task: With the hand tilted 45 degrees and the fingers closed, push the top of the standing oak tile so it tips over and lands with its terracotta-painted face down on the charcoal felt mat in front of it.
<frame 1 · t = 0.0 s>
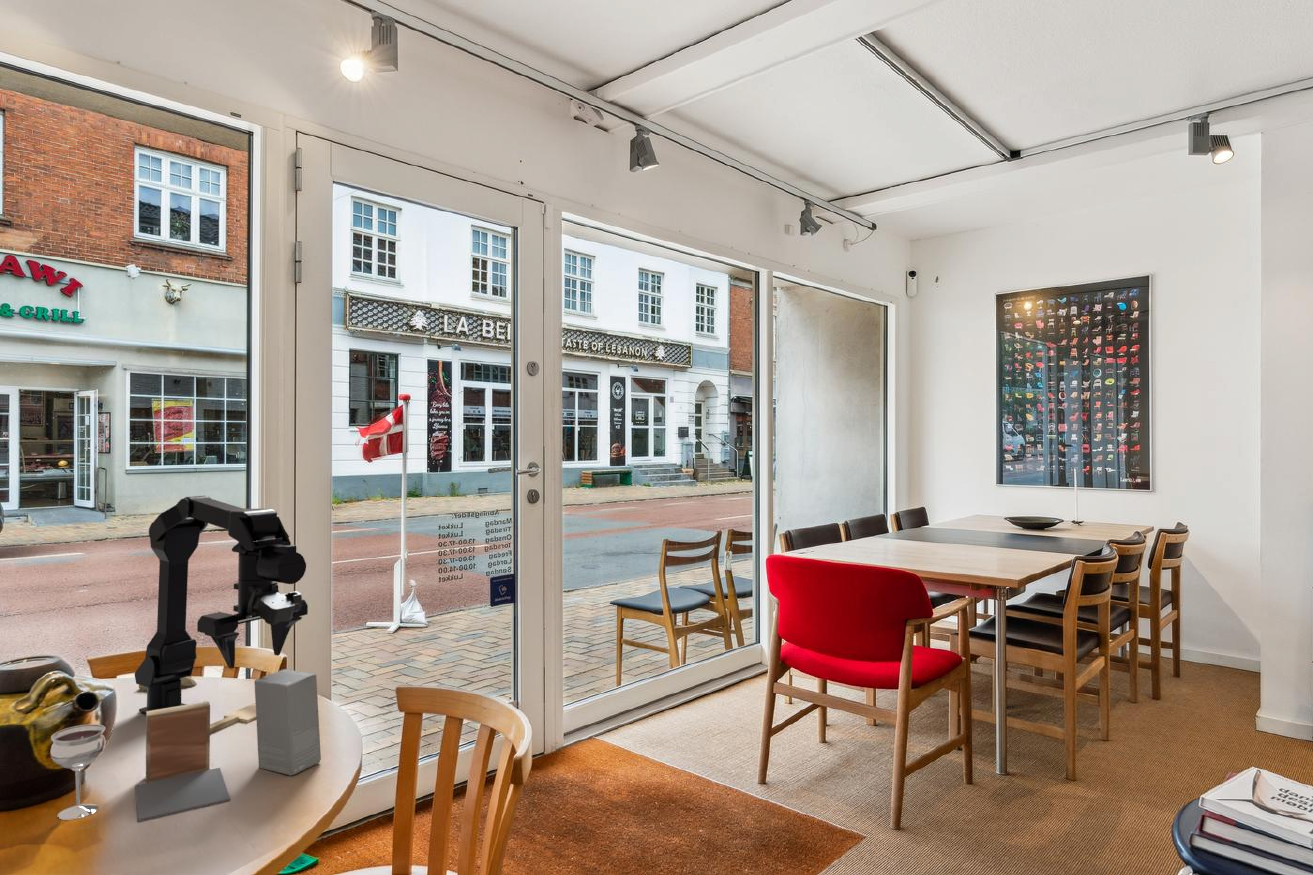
hand: (254, 661, 146), 15 cm above the table, fingers open, 9 cm apart
wooden spatula: (235, 720, 155), on the table
wineglass: (78, 812, 119), on the table
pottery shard: (170, 685, 175), on the table
felt mat: (181, 793, 125), on the table
oak tile: (177, 773, 132), on the table
skincare box: (287, 767, 136), on the table
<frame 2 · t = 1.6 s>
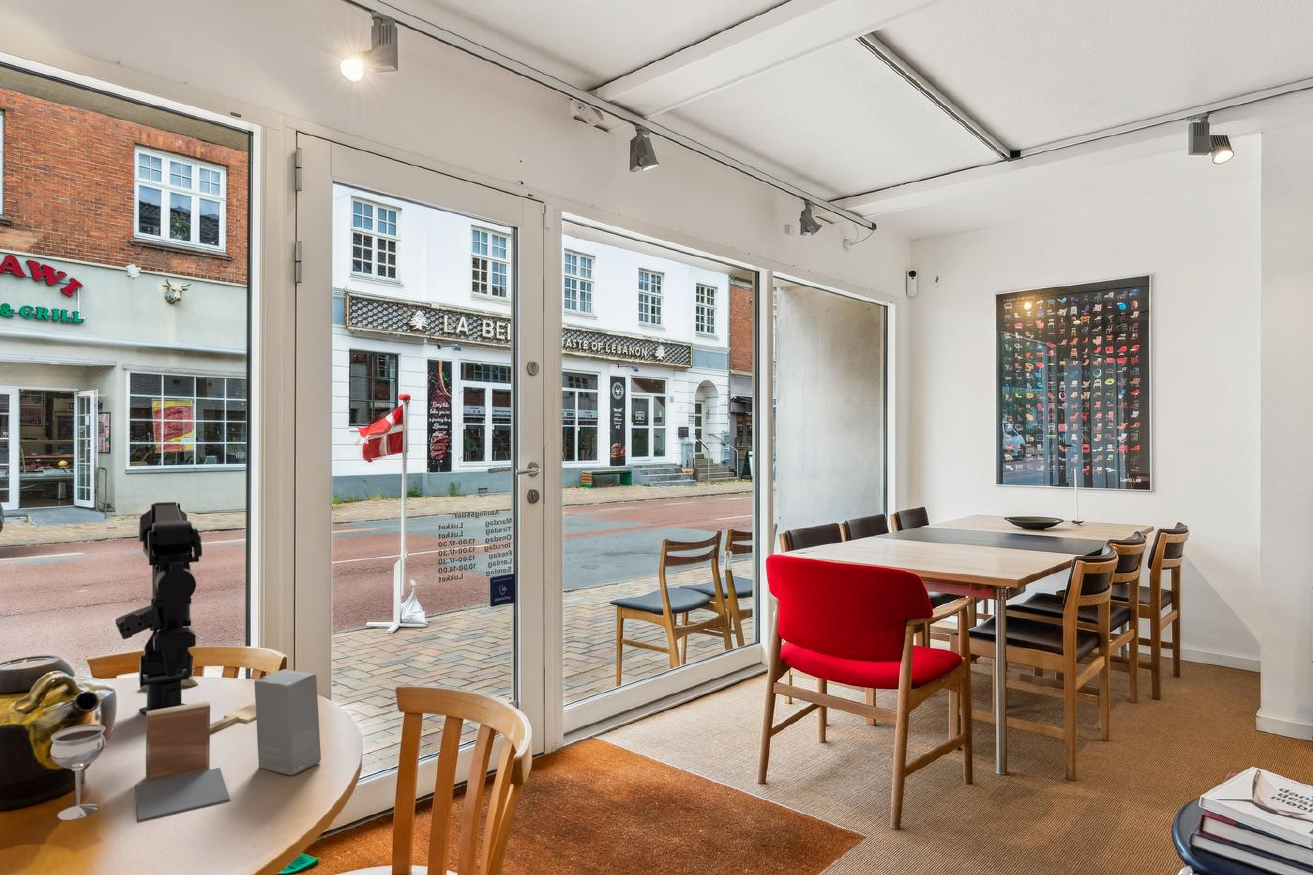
hand: (171, 676, 144), 12 cm above the table, fingers closed
nothing on the table moved.
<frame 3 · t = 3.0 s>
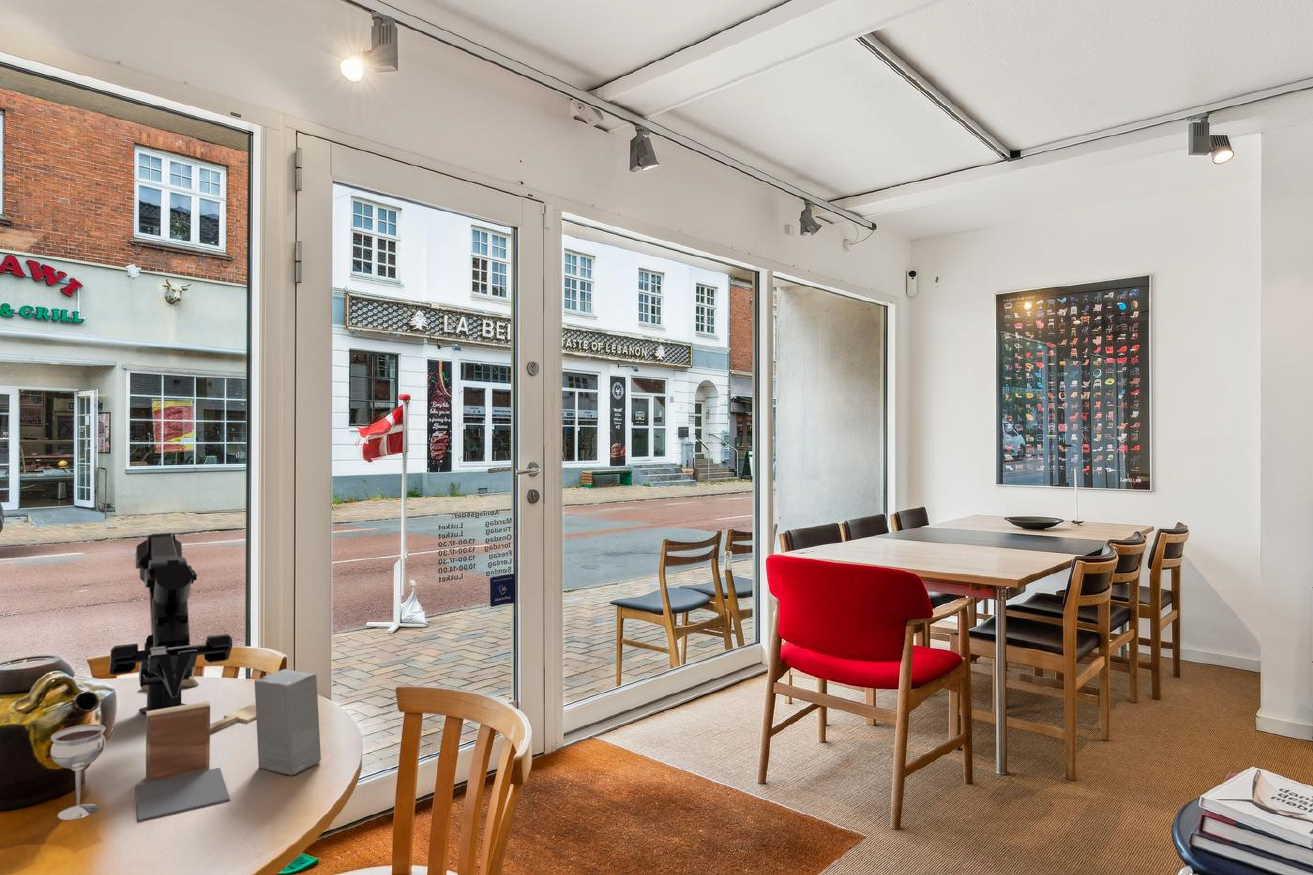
hand: (174, 696, 139), 10 cm above the table, fingers closed
nothing on the table moved.
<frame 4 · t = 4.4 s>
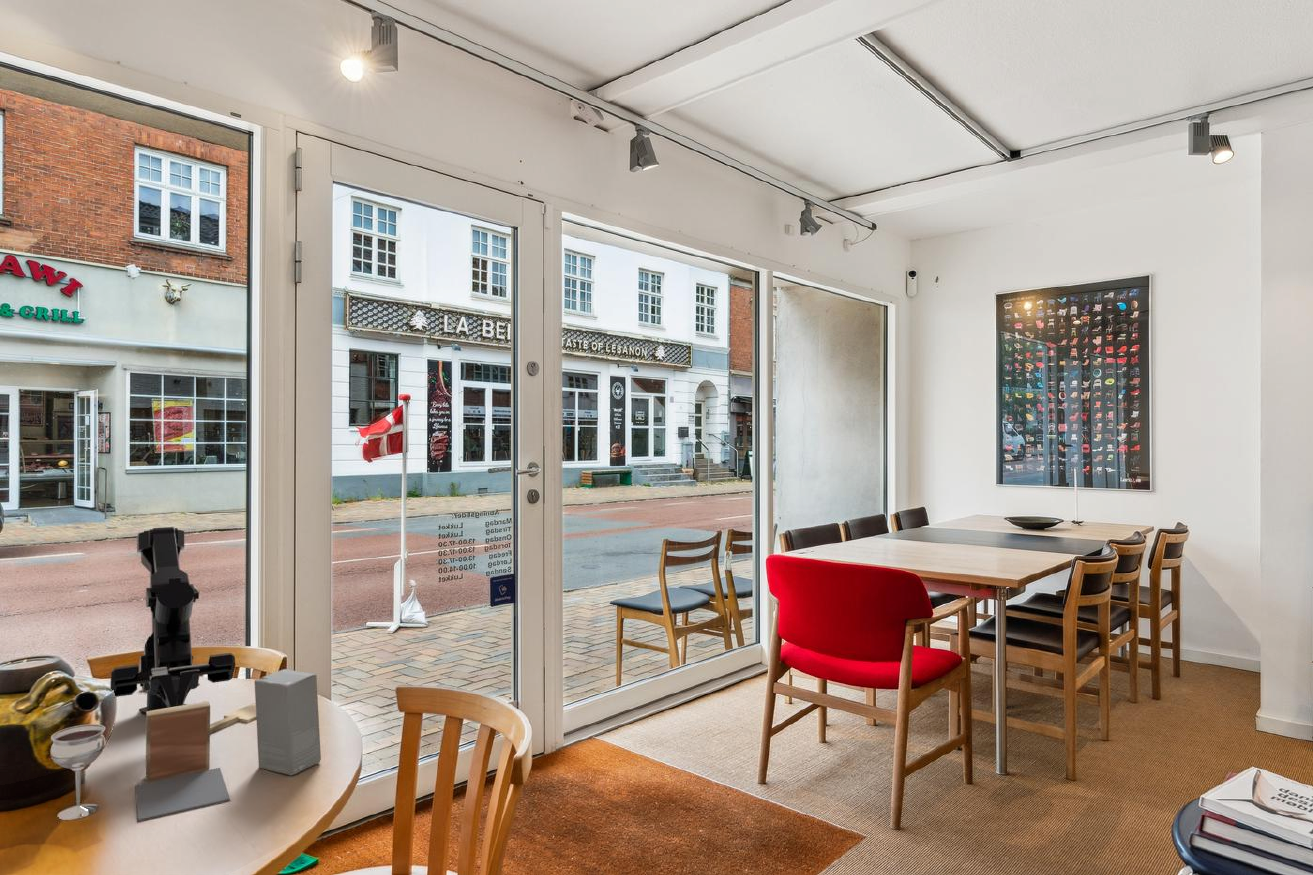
hand: (176, 718, 135), 8 cm above the table, fingers closed
nothing on the table moved.
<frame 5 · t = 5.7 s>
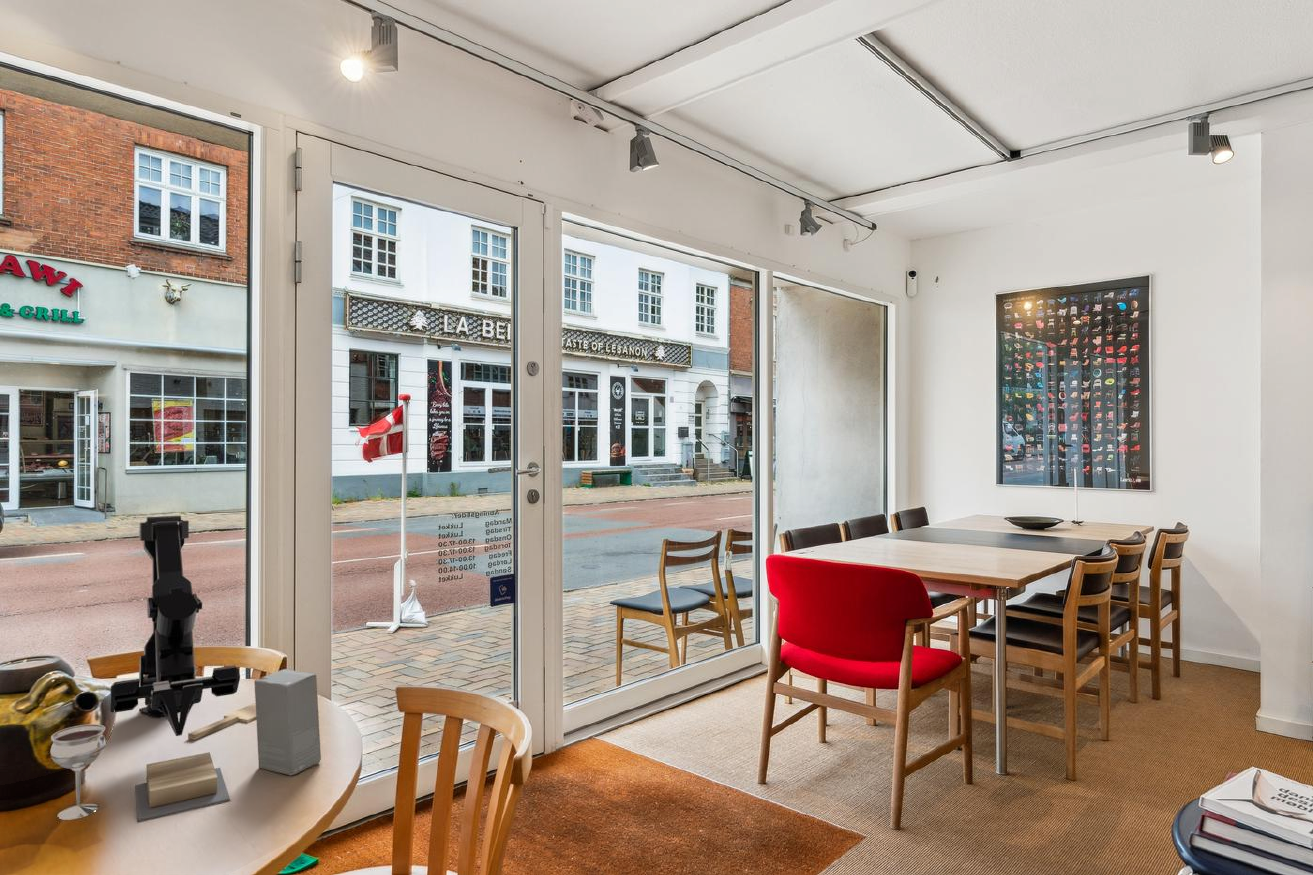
hand: (179, 734, 130), 7 cm above the table, fingers closed
oak tile: (178, 765, 131), point 2 cm above the table, tilted 90°, touching felt mat
everything else where it was.
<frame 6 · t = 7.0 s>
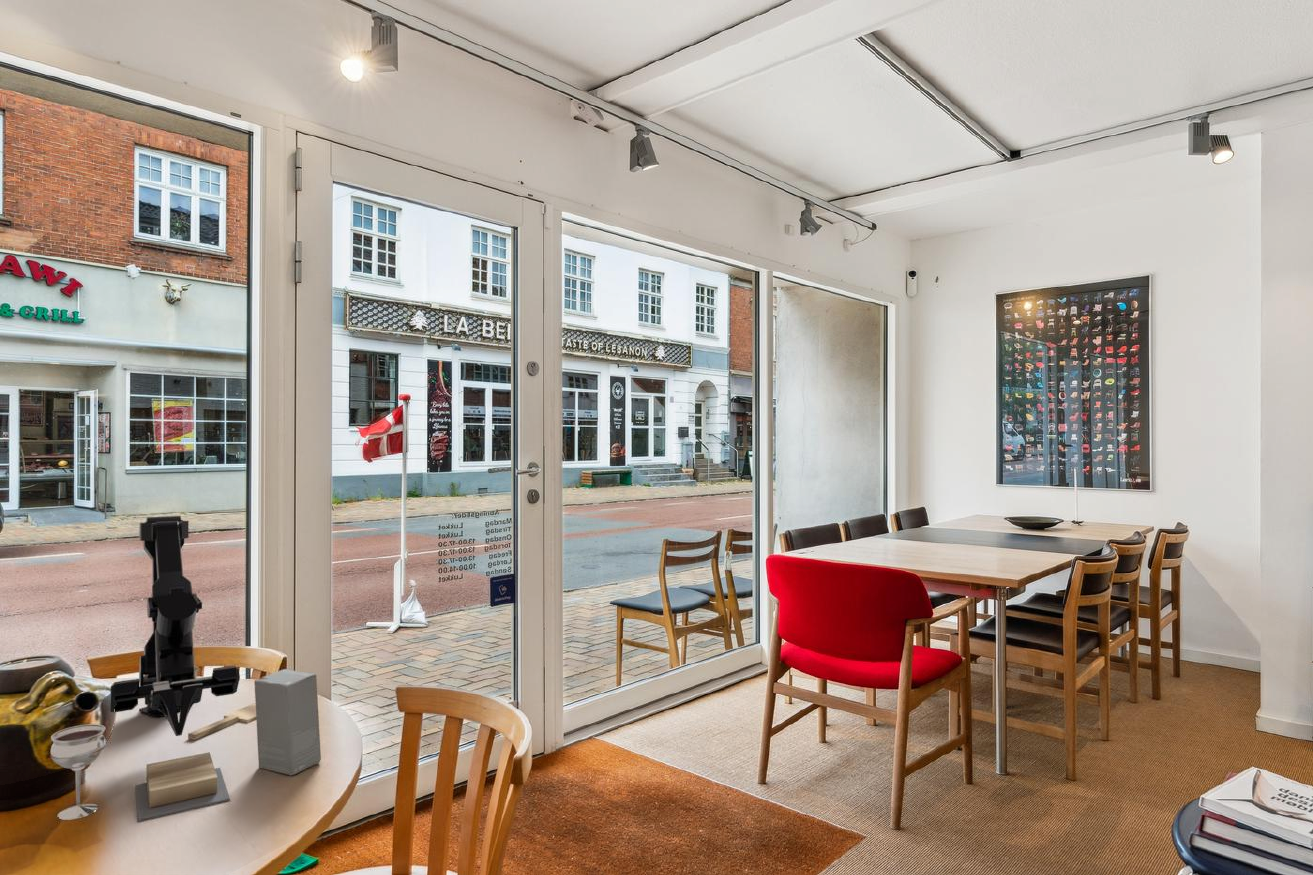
hand: (178, 734, 130), 7 cm above the table, fingers closed
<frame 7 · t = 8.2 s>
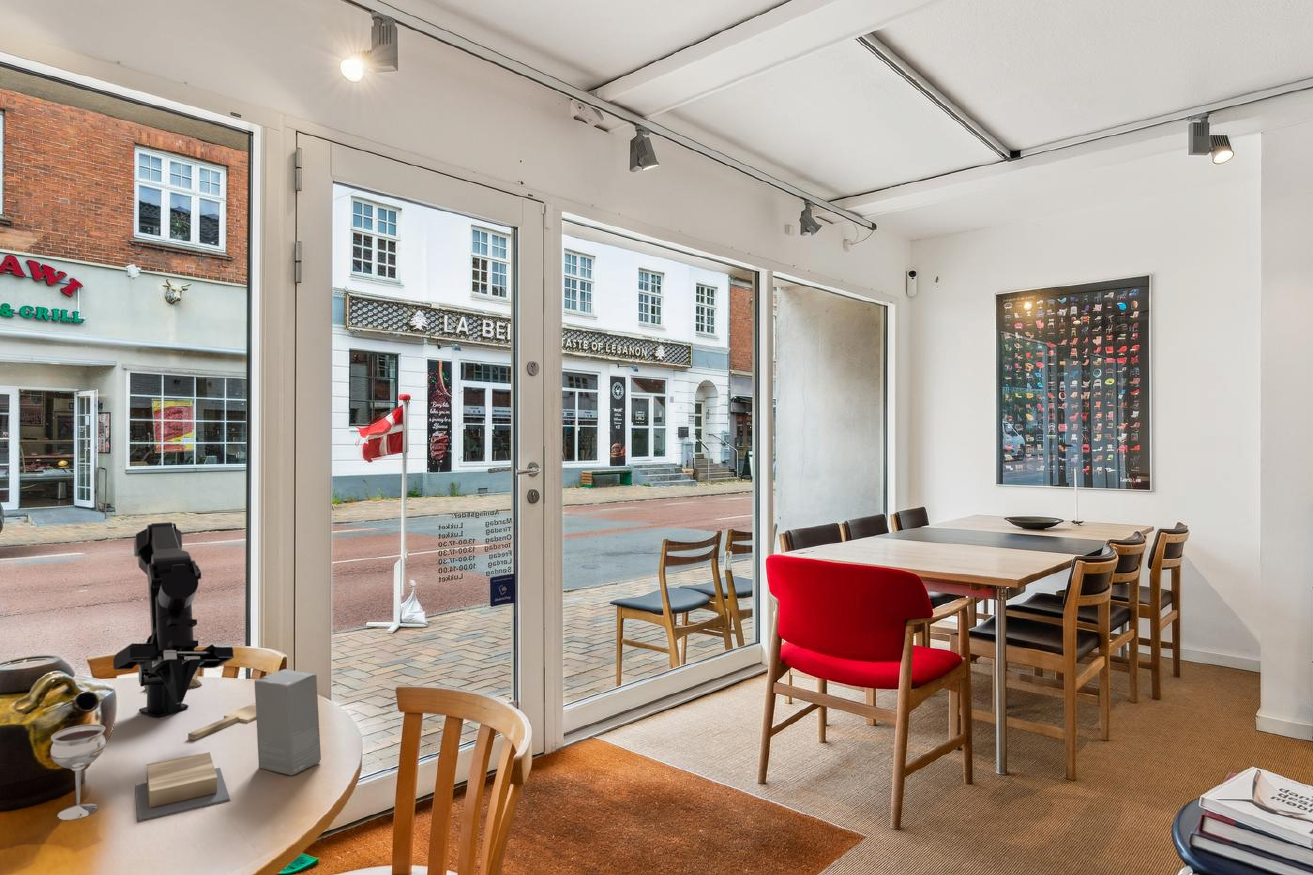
hand: (178, 703, 140), 9 cm above the table, fingers closed
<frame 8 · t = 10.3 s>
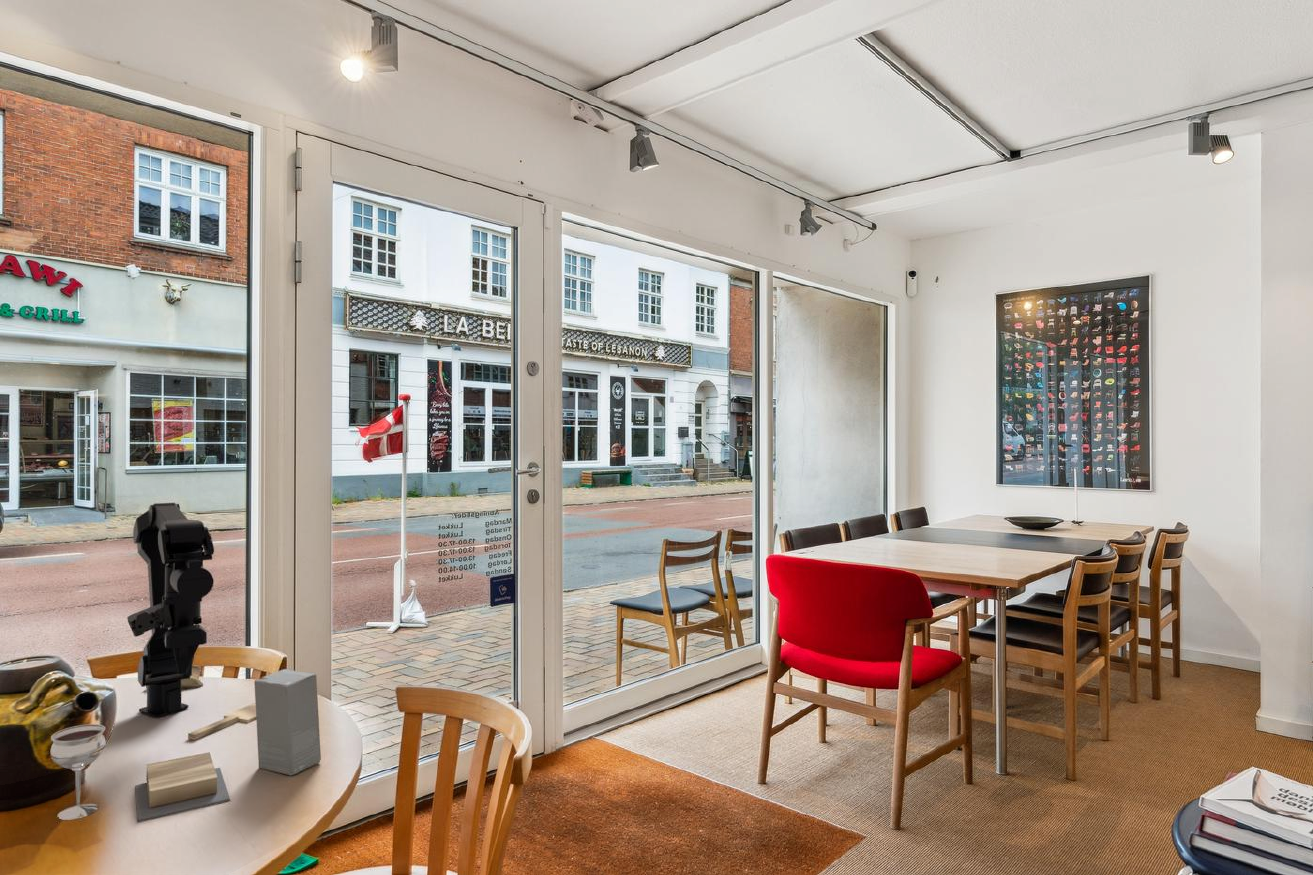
hand: (182, 673, 146), 12 cm above the table, fingers closed
at the end: oak tile tilted 90°; oak tile inside the target area (7.2 cm from its centre), point 1.7 cm above the table; oak tile touching felt mat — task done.
